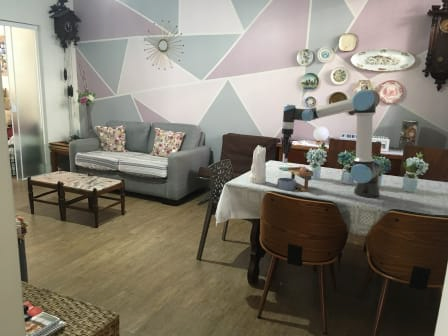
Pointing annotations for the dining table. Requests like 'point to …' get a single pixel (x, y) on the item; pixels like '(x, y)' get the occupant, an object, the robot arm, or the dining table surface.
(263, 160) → the decorative vase
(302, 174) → the tipping tray
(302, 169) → the rubber ball
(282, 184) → the grey round container
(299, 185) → the pivot stand
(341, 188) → the dining table surface
